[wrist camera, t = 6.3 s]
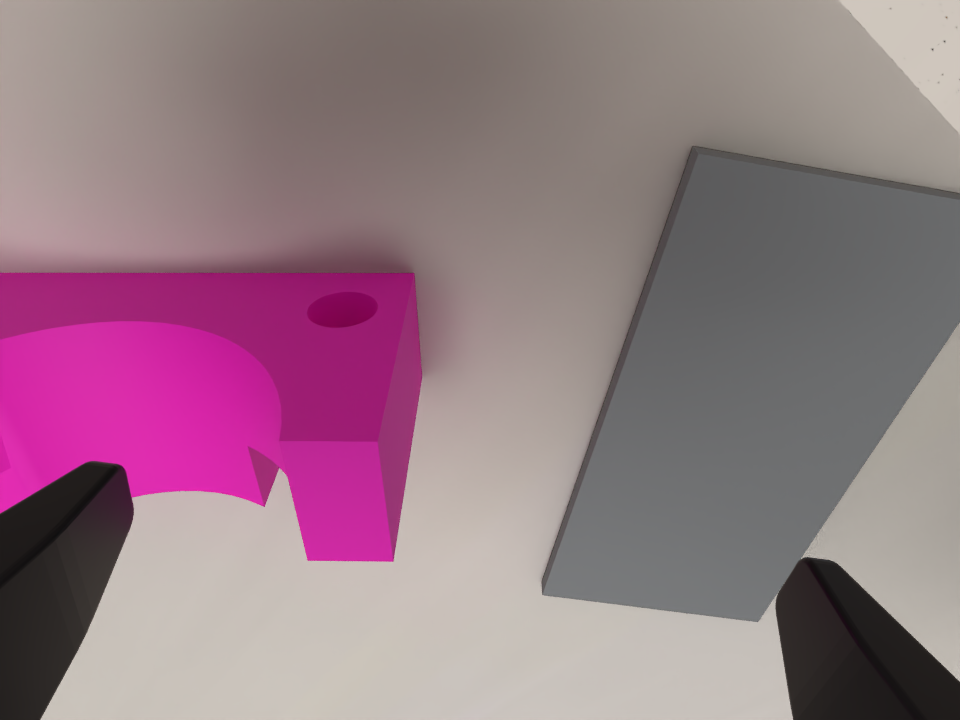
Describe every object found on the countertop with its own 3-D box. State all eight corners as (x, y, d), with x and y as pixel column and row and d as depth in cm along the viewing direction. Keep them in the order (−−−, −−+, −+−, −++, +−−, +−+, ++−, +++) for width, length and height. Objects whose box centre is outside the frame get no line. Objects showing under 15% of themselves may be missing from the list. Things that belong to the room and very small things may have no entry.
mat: (1018, 204, 18) (1032, 212, 18) (753, 609, 28) (757, 622, 28) (693, 146, 17) (698, 153, 17) (541, 582, 28) (542, 595, 27)
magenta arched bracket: (1, 428, 24) (-170, 616, 18) (-86, 269, 20) (-338, 436, 14) (426, 431, 24) (401, 625, 17) (415, 269, 20) (377, 441, 14)
